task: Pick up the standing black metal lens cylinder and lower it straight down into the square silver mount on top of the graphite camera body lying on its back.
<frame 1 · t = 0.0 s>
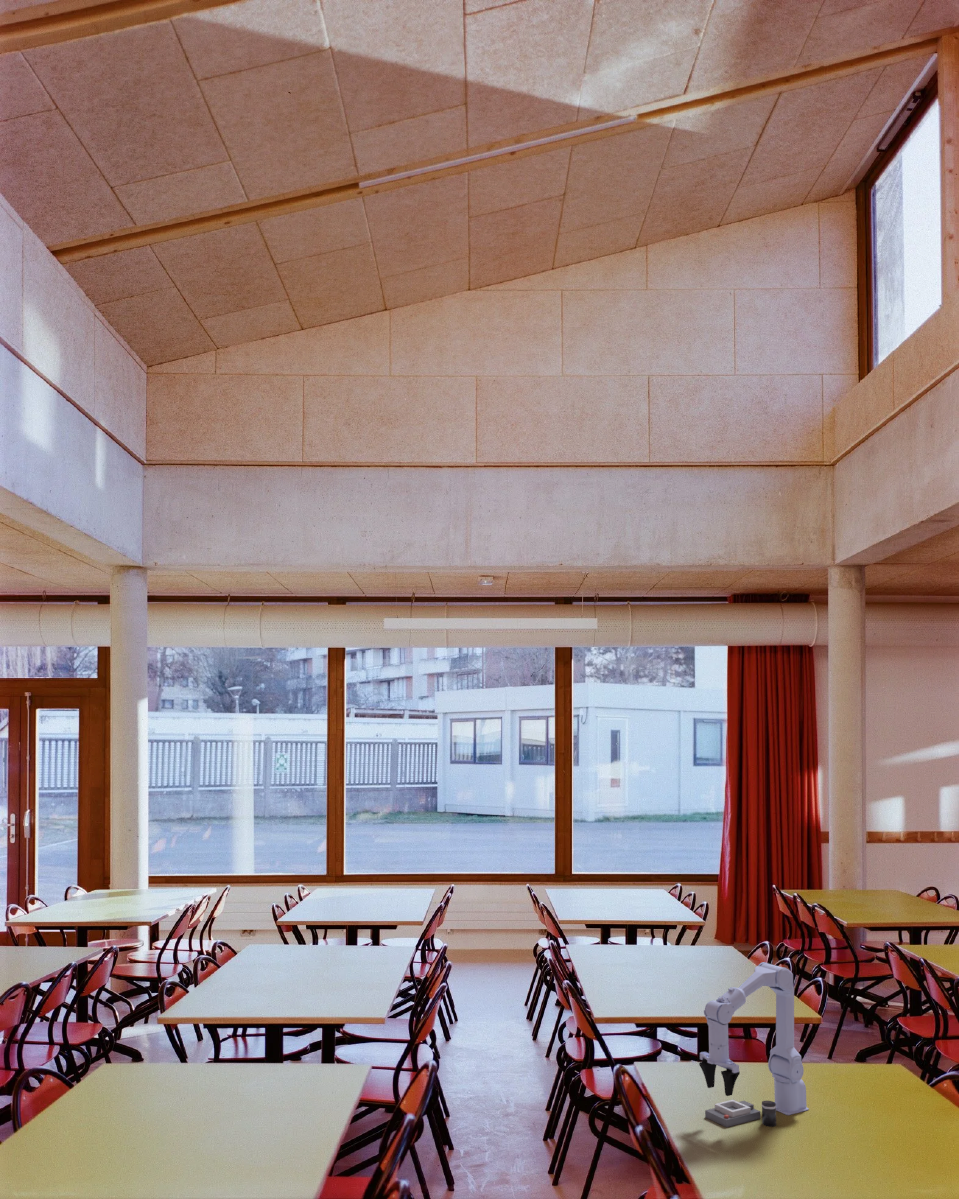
hand: (719, 1091, 302), 10 cm above the table, fingers open, 7 cm apart
camera body: (732, 1117, 307), on the table
lens: (769, 1124, 303), on the table
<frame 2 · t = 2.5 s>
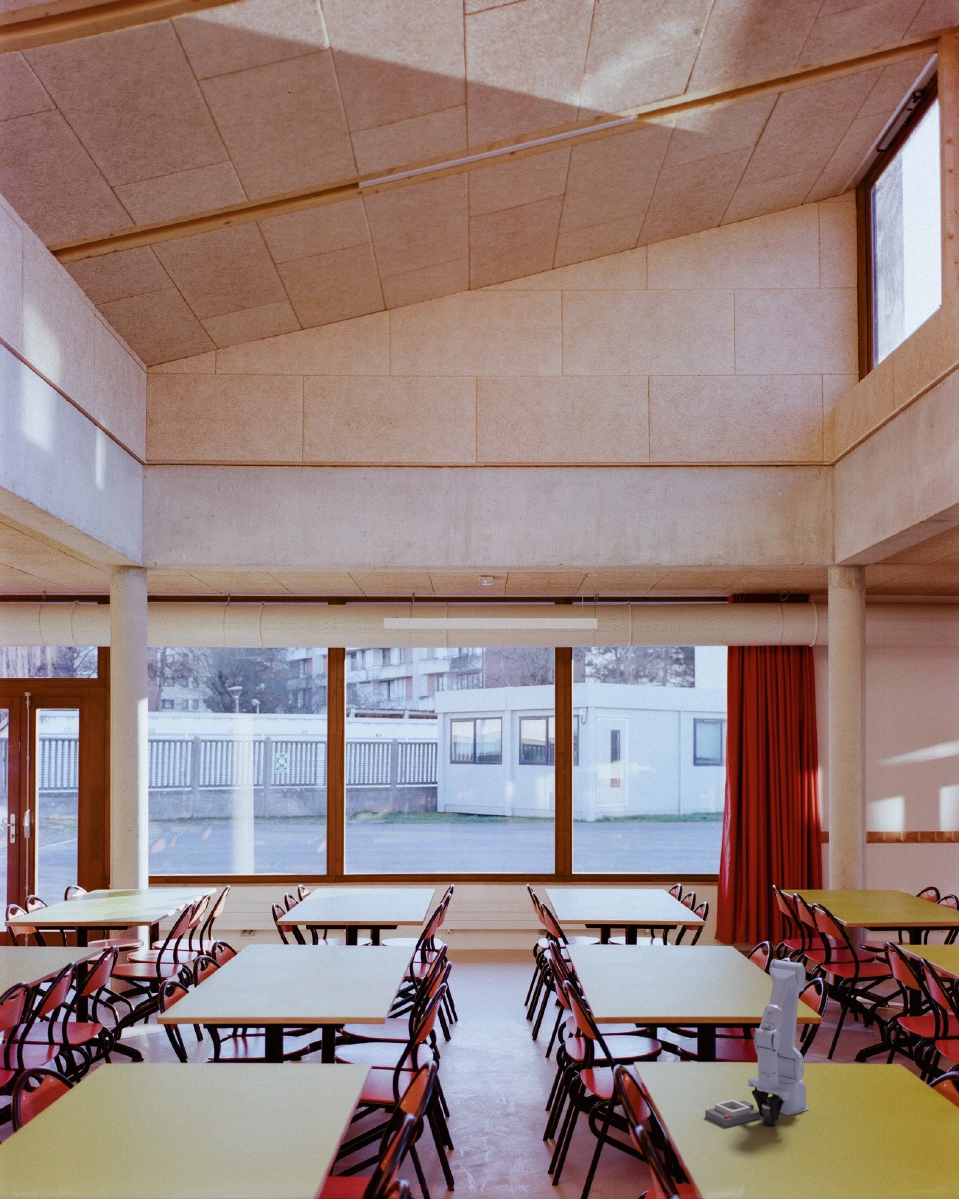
hand: (769, 1118, 303), 2 cm above the table, fingers closed on lens, 4 cm apart
lens: (769, 1124, 303), on the table, touching gripper
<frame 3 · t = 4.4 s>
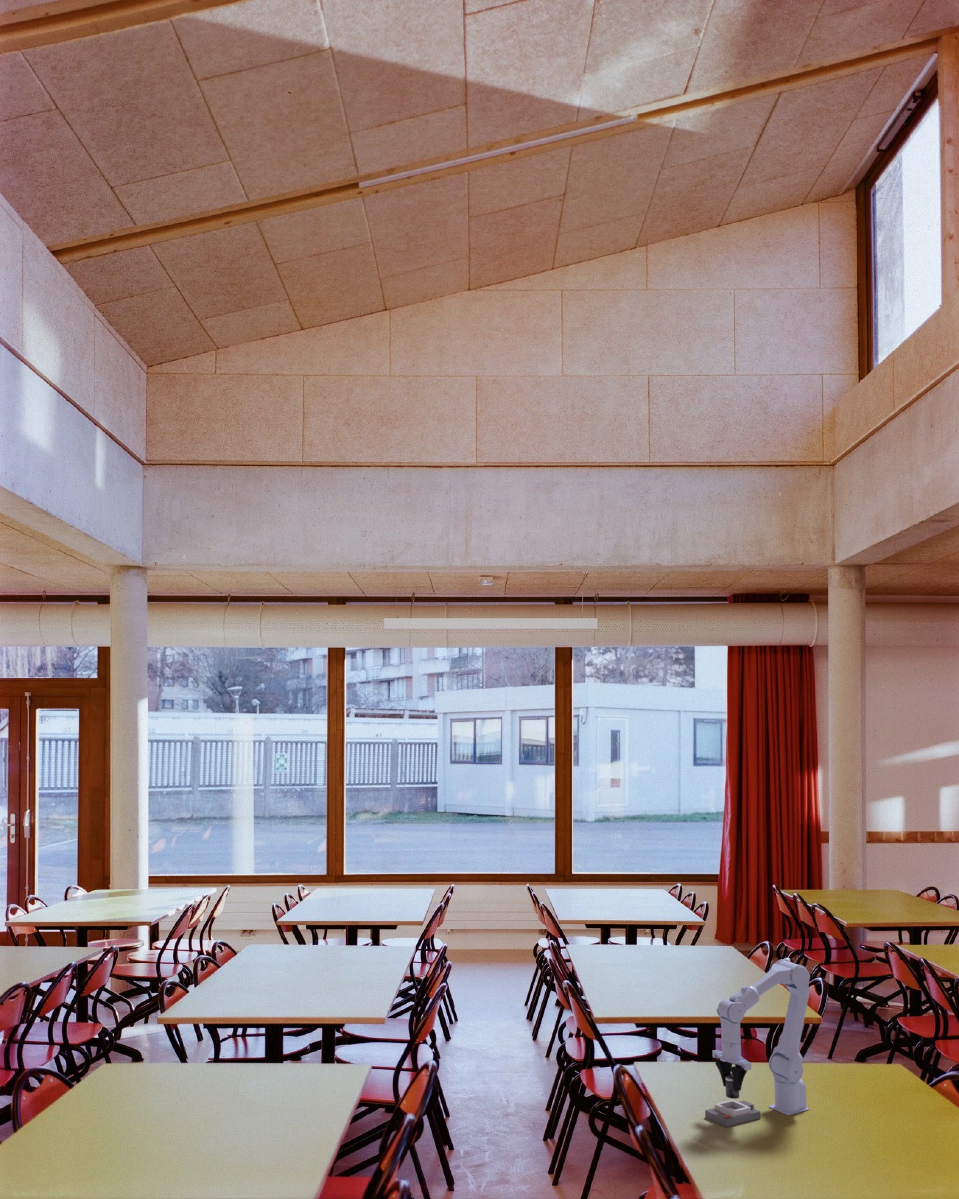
hand: (732, 1088, 308), 9 cm above the table, fingers closed on lens, 4 cm apart
lens: (732, 1096, 308), point 6 cm above the table, touching gripper
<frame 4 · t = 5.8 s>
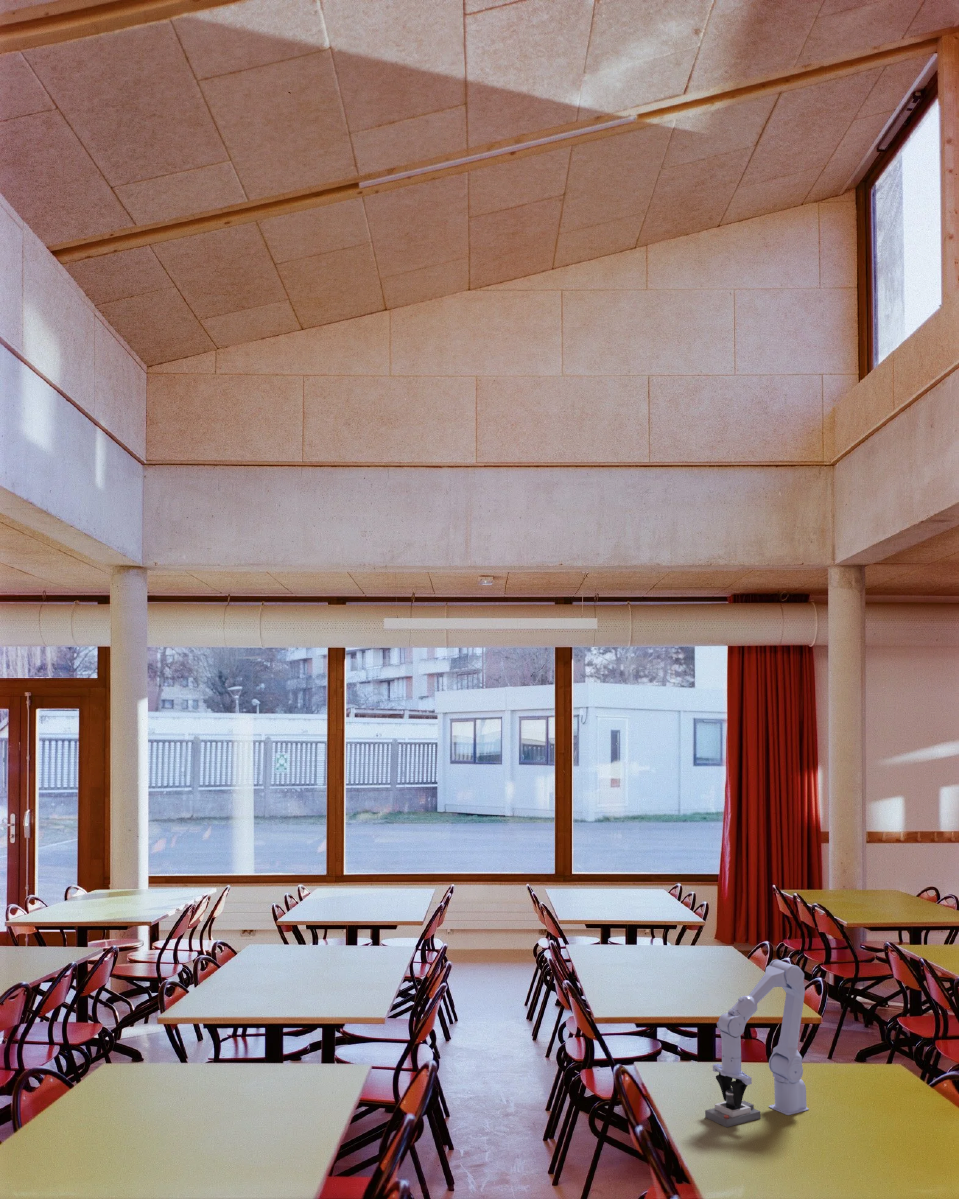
hand: (732, 1102, 308), 4 cm above the table, fingers closed on lens, 4 cm apart
lens: (733, 1110, 308), point 2 cm above the table, touching gripper
when the fingers open (4 cm above the table, at t = 6.4 s): lens stays where it is, resting on camera body.
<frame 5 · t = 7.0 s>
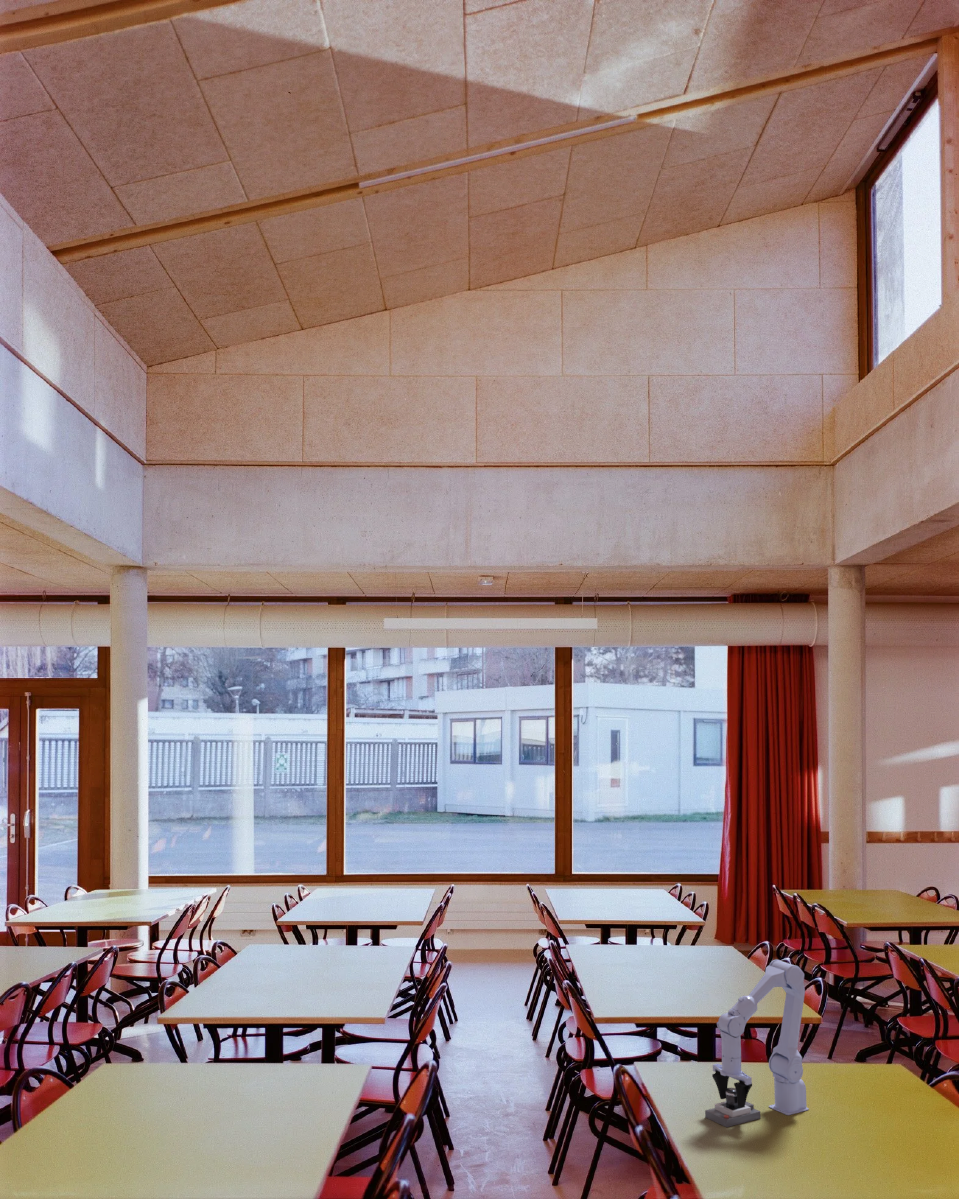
hand: (732, 1102, 308), 4 cm above the table, fingers open, 7 cm apart
lens: (732, 1110, 308), point 2 cm above the table, touching camera body
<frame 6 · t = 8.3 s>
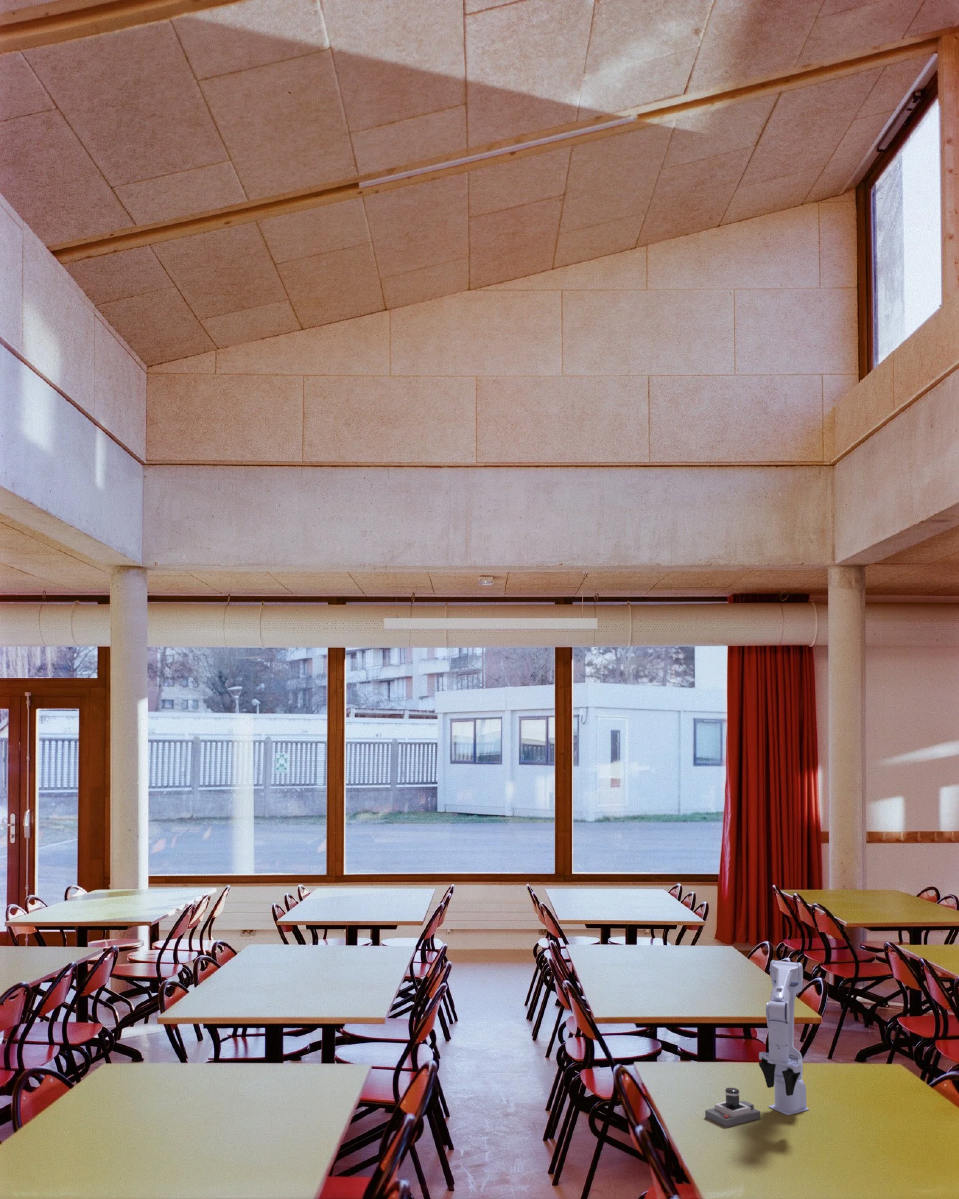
hand: (780, 1091, 302), 10 cm above the table, fingers open, 7 cm apart
nothing on the table moved.
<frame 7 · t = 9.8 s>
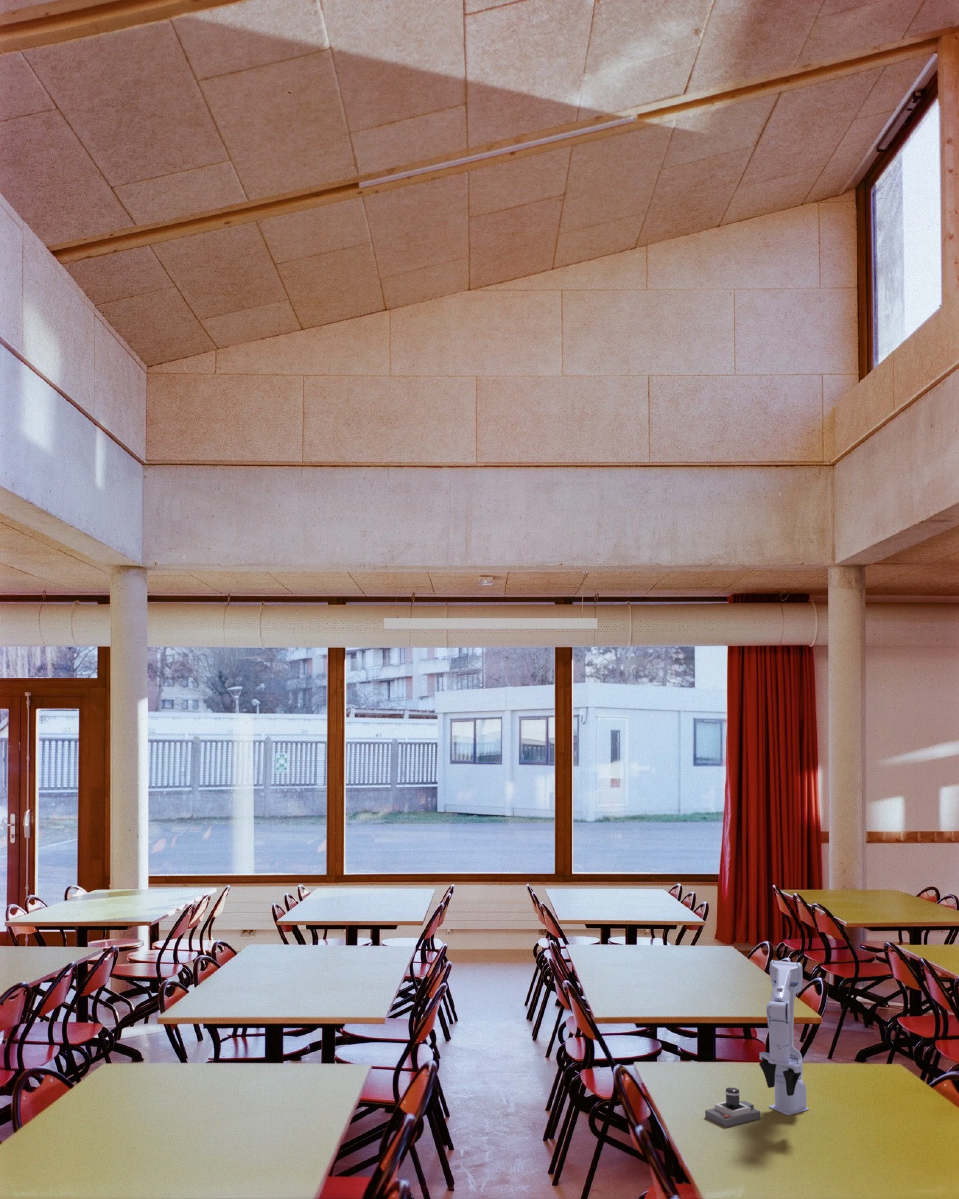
hand: (780, 1091, 302), 10 cm above the table, fingers open, 7 cm apart
nothing on the table moved.
at the end: lens 0.1 cm off-centre on the camera body, point 2.0 cm above the camera body's base; lens tilted 1°; the gripper is holding nothing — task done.
